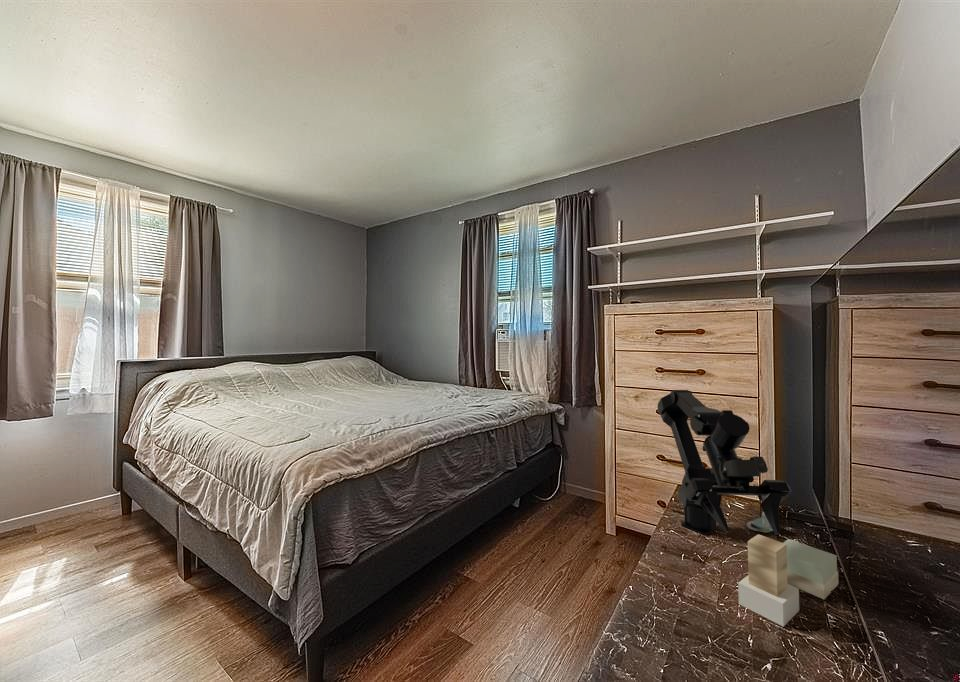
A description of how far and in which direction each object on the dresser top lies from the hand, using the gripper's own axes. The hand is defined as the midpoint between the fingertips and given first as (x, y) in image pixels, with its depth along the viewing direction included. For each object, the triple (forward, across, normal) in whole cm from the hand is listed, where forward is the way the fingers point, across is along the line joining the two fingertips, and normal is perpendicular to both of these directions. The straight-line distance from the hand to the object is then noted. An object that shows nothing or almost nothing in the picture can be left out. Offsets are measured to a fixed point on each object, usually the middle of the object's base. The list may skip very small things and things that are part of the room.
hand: (752, 532), depth 76 cm
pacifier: (-10, +15, +27) cm, 33 cm away
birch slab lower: (+5, +12, +11) cm, 17 cm away
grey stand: (+11, 0, +5) cm, 12 cm away
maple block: (+9, 0, +2) cm, 9 cm away
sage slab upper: (+3, +12, +10) cm, 16 cm away
